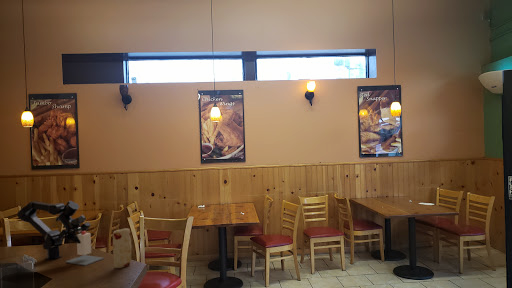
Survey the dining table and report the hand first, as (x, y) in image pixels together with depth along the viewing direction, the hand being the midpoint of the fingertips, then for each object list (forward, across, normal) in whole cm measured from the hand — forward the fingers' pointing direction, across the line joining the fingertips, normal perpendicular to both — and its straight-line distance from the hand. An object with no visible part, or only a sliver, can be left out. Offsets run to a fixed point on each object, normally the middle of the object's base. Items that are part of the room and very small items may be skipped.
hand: (83, 241), depth 208 cm
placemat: (+8, 0, +7) cm, 11 cm away
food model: (+28, -4, -13) cm, 31 cm away
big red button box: (+5, 0, +5) cm, 7 cm away
